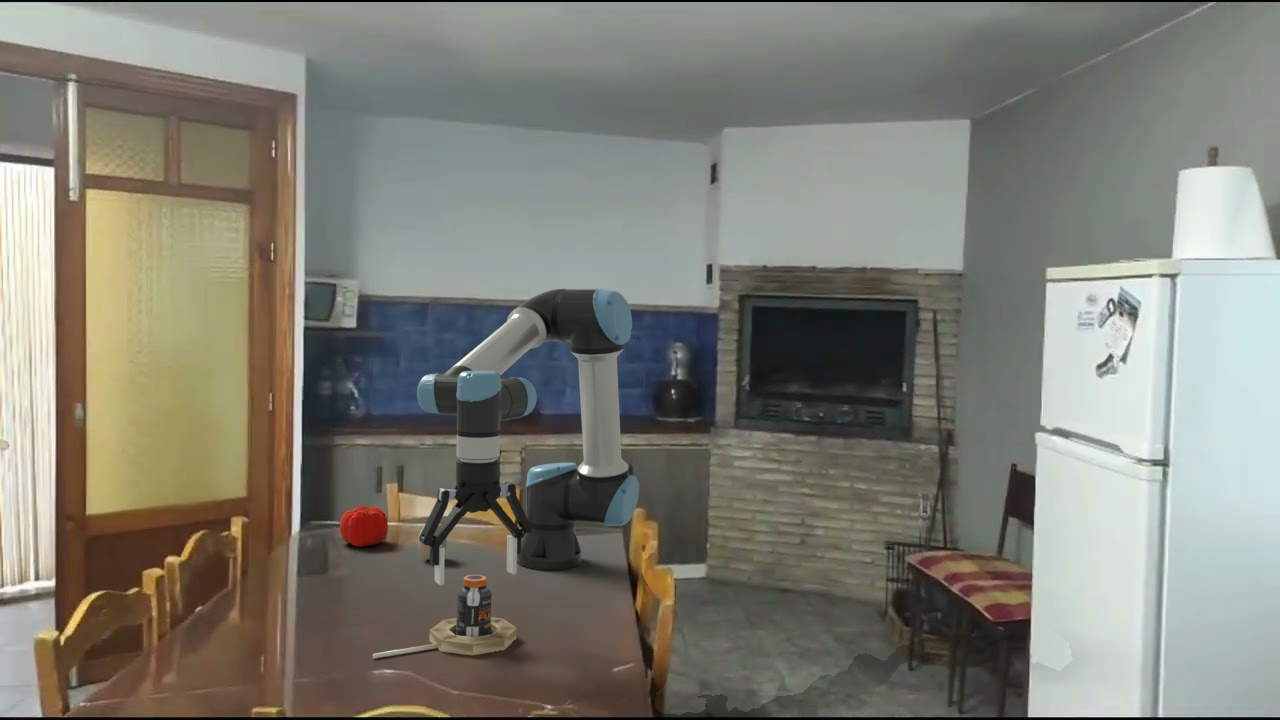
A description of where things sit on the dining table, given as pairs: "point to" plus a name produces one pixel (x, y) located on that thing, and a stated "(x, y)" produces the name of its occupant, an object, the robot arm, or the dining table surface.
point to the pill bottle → (474, 607)
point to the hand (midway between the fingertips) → (476, 577)
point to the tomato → (364, 526)
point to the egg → (426, 548)
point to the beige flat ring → (473, 638)
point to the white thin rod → (405, 651)
